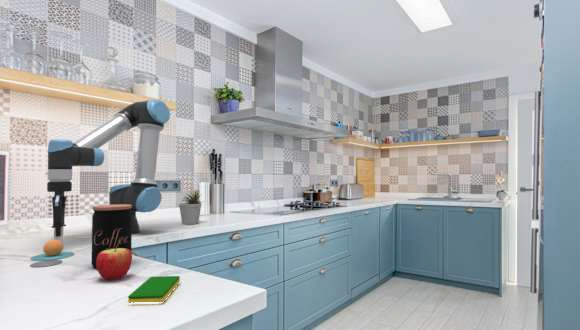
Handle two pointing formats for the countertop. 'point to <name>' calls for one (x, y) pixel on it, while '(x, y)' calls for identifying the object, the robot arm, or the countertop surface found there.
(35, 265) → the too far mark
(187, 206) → the potted plant
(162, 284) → the dish sponge
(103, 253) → the apple
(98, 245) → the coffee jar
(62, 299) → the countertop surface
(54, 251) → the ball
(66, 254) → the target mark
